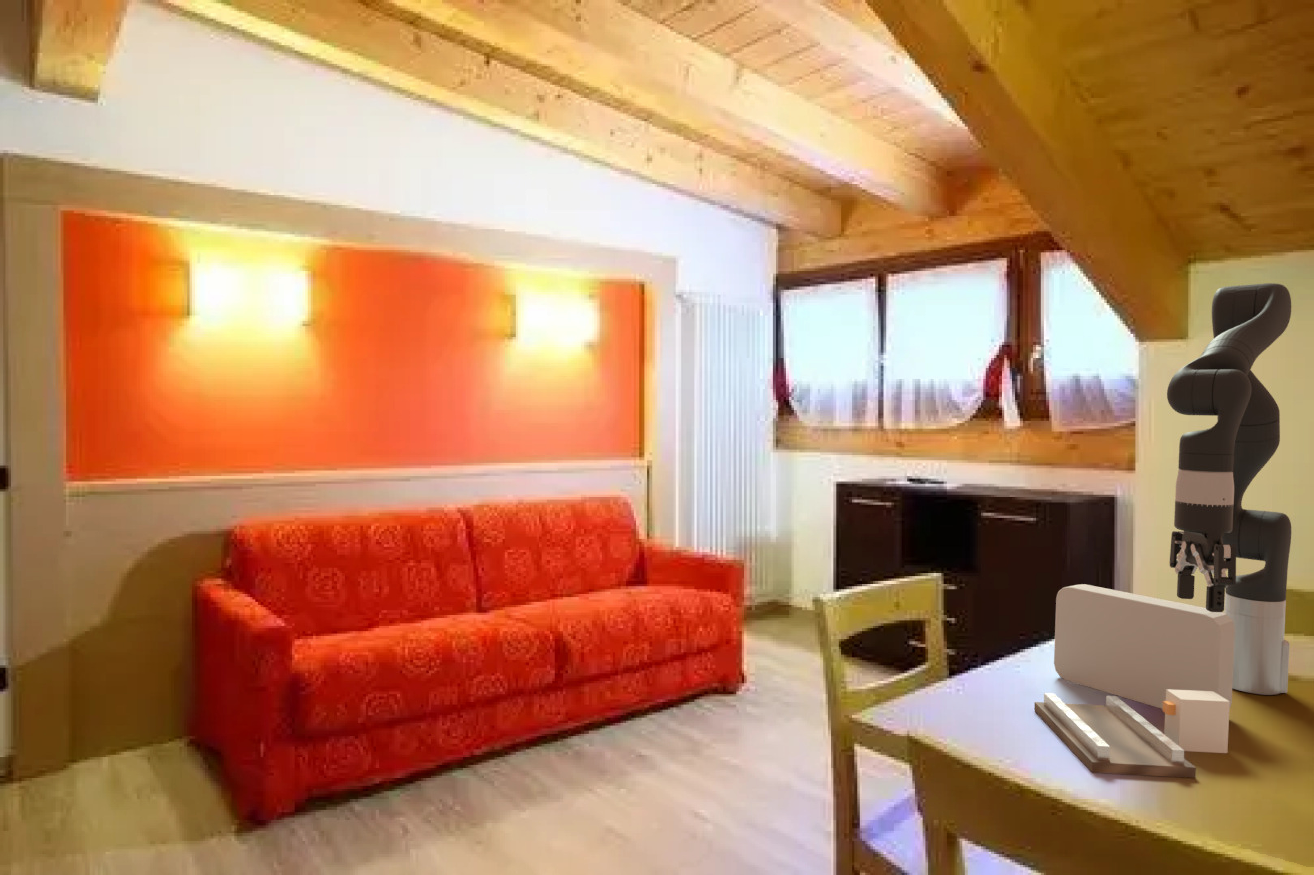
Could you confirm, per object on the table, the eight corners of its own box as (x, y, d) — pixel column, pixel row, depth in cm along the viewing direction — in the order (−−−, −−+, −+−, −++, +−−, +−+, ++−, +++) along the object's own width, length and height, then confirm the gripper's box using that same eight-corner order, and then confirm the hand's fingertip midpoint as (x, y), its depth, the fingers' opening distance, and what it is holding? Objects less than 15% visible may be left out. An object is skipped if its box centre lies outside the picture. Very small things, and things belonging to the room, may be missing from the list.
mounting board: (1120, 714, 143) (1120, 706, 143) (1195, 778, 119) (1195, 767, 119) (1034, 710, 144) (1034, 702, 144) (1091, 772, 120) (1092, 762, 120)
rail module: (1211, 741, 132) (1213, 691, 132) (1227, 753, 128) (1229, 701, 127) (1156, 738, 133) (1158, 688, 133) (1171, 750, 129) (1173, 699, 128)
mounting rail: (1115, 707, 142) (1116, 696, 142) (1183, 764, 120) (1184, 750, 120) (1043, 704, 143) (1044, 692, 143) (1097, 759, 121) (1098, 745, 121)
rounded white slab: (1237, 716, 143) (1242, 611, 142) (1216, 725, 139) (1221, 617, 138) (1075, 670, 167) (1078, 580, 166) (1053, 676, 163) (1056, 584, 162)
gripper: (1258, 506, 121) (1253, 617, 122) (1204, 495, 135) (1200, 595, 136) (1202, 505, 122) (1198, 615, 123) (1155, 494, 136) (1151, 593, 137)
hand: (1199, 604), depth 129 cm, fingers open, 8 cm apart
